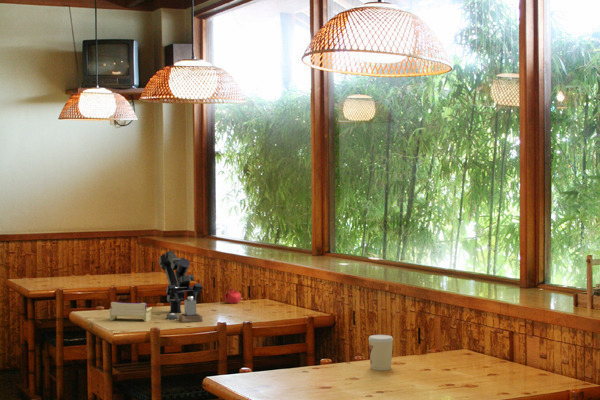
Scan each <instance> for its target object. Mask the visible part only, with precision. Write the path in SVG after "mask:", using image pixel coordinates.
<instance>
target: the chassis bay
mask: <svg viewBox="0 0 600 400" xmlns="http://www.w3.org/2000/svg"><path fill="white" fill-rule="evenodd" d="M178 321H180V322H181V323H183V324H187V323H200V322H201V323H202V322H203V315H202V314H200V313H198V312H196V316H187V317H185V313H178Z"/></svg>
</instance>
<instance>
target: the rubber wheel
mask: <svg viewBox="0 0 600 400" xmlns="http://www.w3.org/2000/svg"><path fill="white" fill-rule="evenodd" d="M167 319H169V320H168V321H174V320H175V319H176V320H179V313H170V312H169V313H166V320H167Z"/></svg>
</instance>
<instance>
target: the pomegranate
mask: <svg viewBox="0 0 600 400" xmlns="http://www.w3.org/2000/svg"><path fill="white" fill-rule="evenodd" d="M241 299H242V294H241V292H239V291H237V289H234V287H231V289H229V290H227V291H226V293H225V295H224V300H225V302H226V303H227V304H230V305H231V304H232V305H233V304H238V303H240V302H241Z"/></svg>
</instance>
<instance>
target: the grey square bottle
mask: <svg viewBox="0 0 600 400" xmlns="http://www.w3.org/2000/svg"><path fill="white" fill-rule="evenodd" d="M186 298H187V299H184V301H183V302H184V303H183V304H184V306H183V307H184V314H185V317H187V316H196V313H197V299H196V300H194V297H193V295H189V296H188V295H187V297H186Z"/></svg>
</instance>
